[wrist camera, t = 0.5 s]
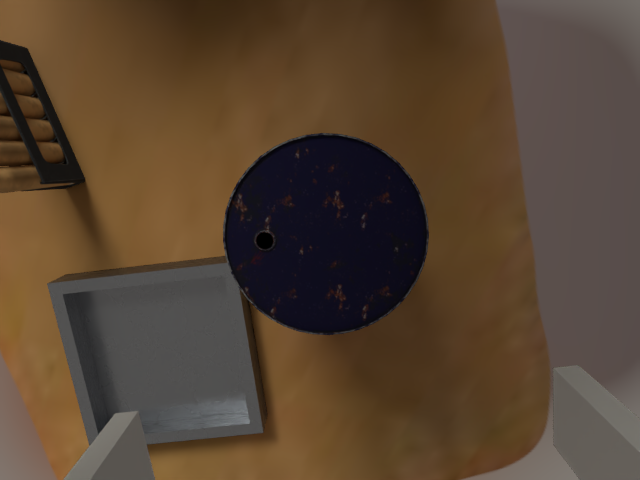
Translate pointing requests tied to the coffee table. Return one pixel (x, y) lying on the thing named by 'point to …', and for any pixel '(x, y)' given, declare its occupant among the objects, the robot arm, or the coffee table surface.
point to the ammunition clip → (30, 130)
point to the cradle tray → (162, 349)
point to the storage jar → (325, 234)
